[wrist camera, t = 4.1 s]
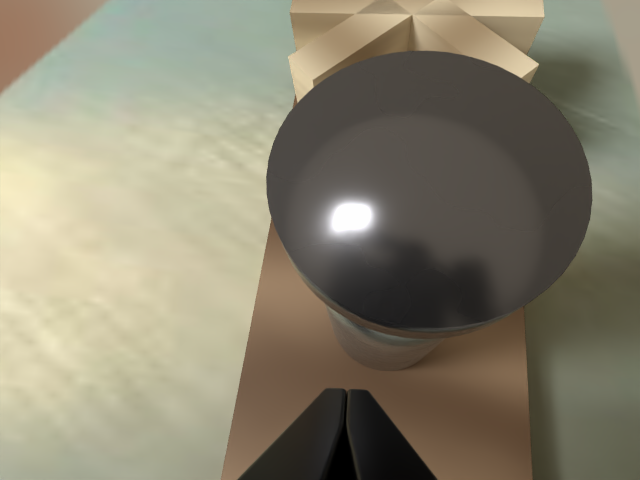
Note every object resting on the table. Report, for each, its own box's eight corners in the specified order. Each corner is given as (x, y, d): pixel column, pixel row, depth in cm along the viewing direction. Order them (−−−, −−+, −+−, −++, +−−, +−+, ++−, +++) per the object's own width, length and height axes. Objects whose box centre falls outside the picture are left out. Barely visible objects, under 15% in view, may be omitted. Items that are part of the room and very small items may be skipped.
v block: (505, 166, 19) (551, 89, 15) (293, 153, 21) (275, 78, 16) (501, 59, 22) (539, -36, 17) (312, 53, 23) (300, -37, 18)
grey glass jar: (449, 390, 16) (612, 349, 6) (313, 372, 16) (237, 306, 6) (451, 260, 18) (575, 55, 7) (329, 249, 18) (292, 46, 8)
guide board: (526, 585, 14) (538, 597, 13) (218, 528, 16) (209, 535, 15) (505, 68, 23) (511, 53, 22) (306, 61, 24) (304, 47, 23)
